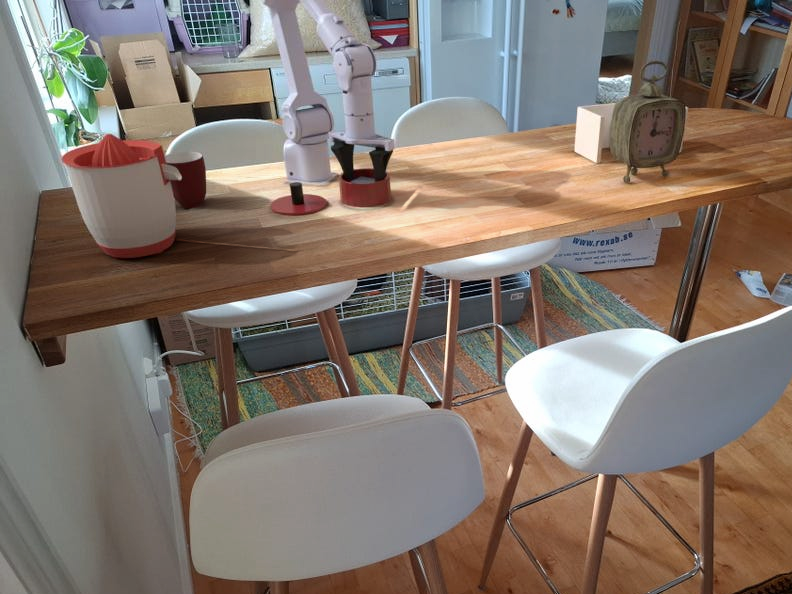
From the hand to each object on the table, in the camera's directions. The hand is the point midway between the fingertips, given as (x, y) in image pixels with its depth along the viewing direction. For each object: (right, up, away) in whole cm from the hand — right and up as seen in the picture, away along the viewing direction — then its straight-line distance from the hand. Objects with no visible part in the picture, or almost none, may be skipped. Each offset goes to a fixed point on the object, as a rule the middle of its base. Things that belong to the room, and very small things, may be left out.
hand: (364, 180), depth 143 cm
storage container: (+62, +16, +34) cm, 72 cm away
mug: (-36, -6, -1) cm, 37 cm away
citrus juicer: (-37, -17, -18) cm, 44 cm away
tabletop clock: (+61, +5, +17) cm, 63 cm away
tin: (0, -4, +2) cm, 4 cm away
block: (0, -3, +2) cm, 4 cm away
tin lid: (-13, -5, -2) cm, 14 cm away
